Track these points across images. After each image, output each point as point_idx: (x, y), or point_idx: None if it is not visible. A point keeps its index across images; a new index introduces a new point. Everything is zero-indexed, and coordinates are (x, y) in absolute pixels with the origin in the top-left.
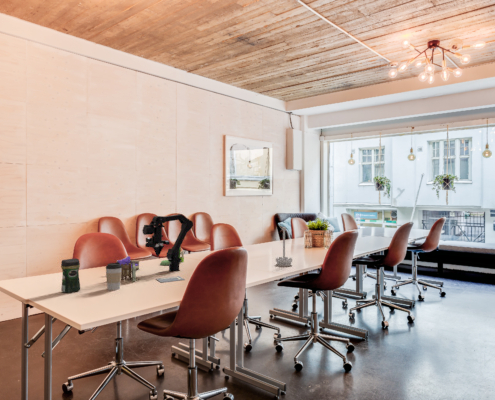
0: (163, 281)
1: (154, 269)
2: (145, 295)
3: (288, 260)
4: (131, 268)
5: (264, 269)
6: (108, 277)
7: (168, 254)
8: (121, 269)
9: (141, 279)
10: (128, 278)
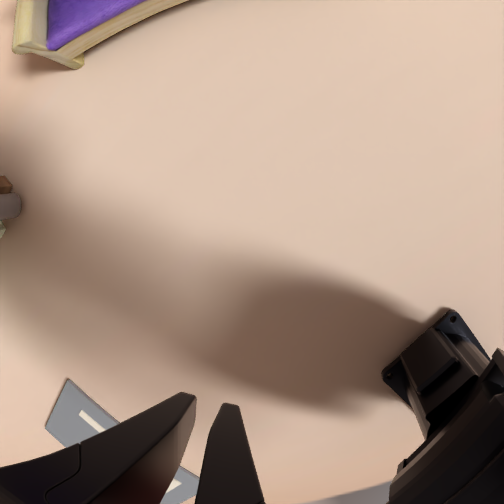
0: (60, 437)
1: (429, 125)
2: None
3: None
4: (127, 9)
5: None
6: None
7: (470, 474)
8: None
9: (21, 286)
10: (2, 178)
